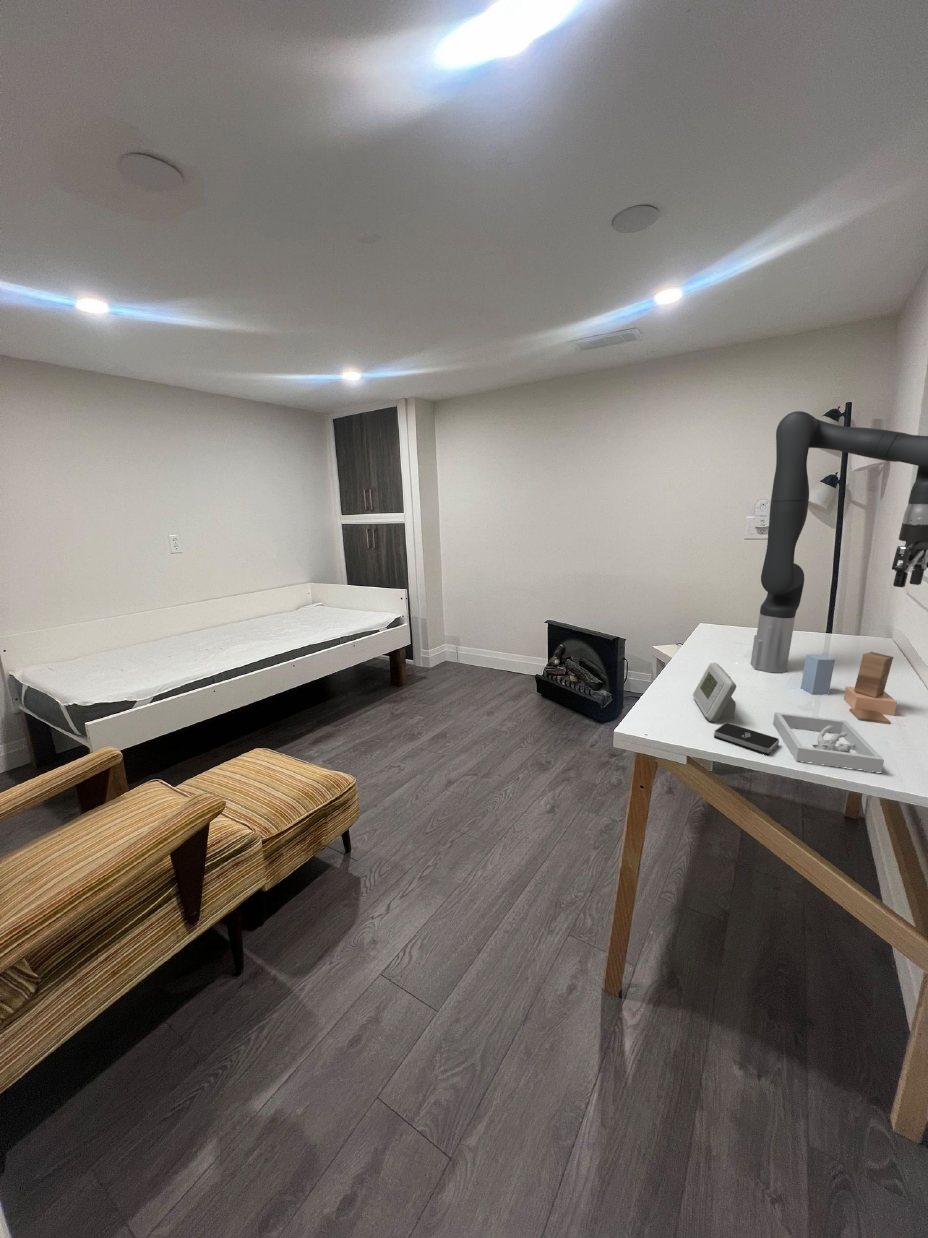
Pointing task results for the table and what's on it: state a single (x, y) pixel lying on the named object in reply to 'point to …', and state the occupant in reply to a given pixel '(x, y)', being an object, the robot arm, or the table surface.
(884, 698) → the terracotta block
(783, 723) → the grey display tray
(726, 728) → the external hard drive
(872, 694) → the walnut pillar
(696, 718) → the table surface
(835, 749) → the soldier figure
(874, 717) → the walnut swatch
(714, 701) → the digital clock
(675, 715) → the table surface
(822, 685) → the slate pillar
